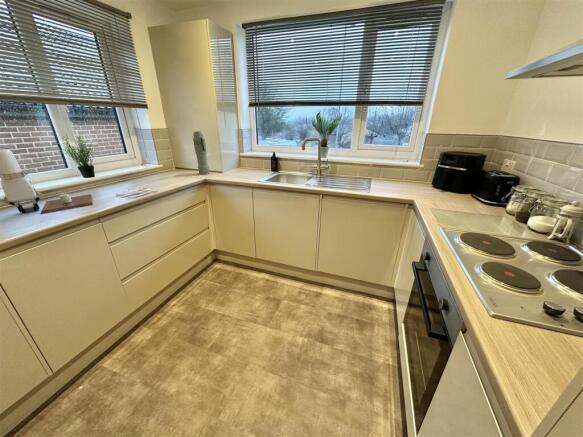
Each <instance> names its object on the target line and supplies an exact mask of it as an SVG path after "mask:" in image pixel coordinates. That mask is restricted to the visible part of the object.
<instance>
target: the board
mask: <svg viewBox="0 0 583 437" xmlns="http://www.w3.org/2000/svg"><path fill="white" fill-rule="evenodd" d="M71 199H72V201H71V202H68V203H62V201H61V199H60V198H58V199H51V200H46V201H45V203H44V205H43V207H42V209H41V211H40V213H39V215H42V214H49V213H53V212H59V211H66V210H71V209H77V208H83V207H88V206H93V205H94V203H93V195H92V194H91V193H89V194H83V195H77V196H71Z"/></svg>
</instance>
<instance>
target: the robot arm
mask: <svg viewBox="0 0 583 437" xmlns="http://www.w3.org/2000/svg"><path fill="white" fill-rule="evenodd" d="M26 176H29V174H28V172H27V171H26V172H24V171H23V170H22V169H21V167H20V165H19V163H18V160H17V159H16V156H15V155H14V153H13V151H12V150H10V149H0V179H1V180H0V185H1V188H2V191H3V194H4V197H3V199H2V203H3V204H7V205H10V206H14V207H15V208H17V210H18V212H19V213H21V214H22V215H24V214H25V213H24V211H23V209H22V208H24V207H23V205H21V204H20V201H22V200H28V199H29V200H30V201H31V202H32V206H34V208H35V210H36V212H39V211H40V208H41V207H40V205H39V203H38V202H39V201H40V200H41V199H42V198H43V197H44V194H43V193H42V192H40V191H37V190H36V188H35V186H34V184H33V183H32V182H31V180H30V179H29V177H26Z"/></svg>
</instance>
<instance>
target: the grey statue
mask: <svg viewBox="0 0 583 437" xmlns="http://www.w3.org/2000/svg"><path fill="white" fill-rule="evenodd" d="M192 141H193V147H194V152H195V156H196V161H197V171H198V175H200V176H205V175H206V176H207V175H210V166H209V163H208V157H207V145H206V139H205V138H204V134H203V132H202V131H201V130H200V131H194V132H193V138H192Z"/></svg>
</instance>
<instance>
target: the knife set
mask: <svg viewBox="0 0 583 437" xmlns="http://www.w3.org/2000/svg"><path fill="white" fill-rule="evenodd" d="M157 183H161V184H162V182H160V181H158V182H157V181H156V184H157ZM154 184H155V182H152V183H151V185H154ZM166 184H168V185H169V183H167V182H166ZM148 185H149V186H150V183H148V184H147V186H148ZM172 185H173V187H172V189H174V188H177V187H178V185H175V184H172ZM144 186H145V184H144V185H142V186H141V185H140V186H138V187H136V188H132V189H127V190H124V191H119V192H117V193H115V194H114V195H115V196H116V197H119V196H120V197H121V198H122V197H123V198H124V197H126V199H130V198H137V197H139V196H143V195H146V194H147V195H148V194H151V193H154V192H158V193H159V192H162V191H166V190H167V188H166V189H162V190H159V189H158V188H156V189H153V190H151V188H148V187H144ZM143 187H144V188H143ZM170 189H171V187H169V188H168V190H170Z"/></svg>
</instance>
